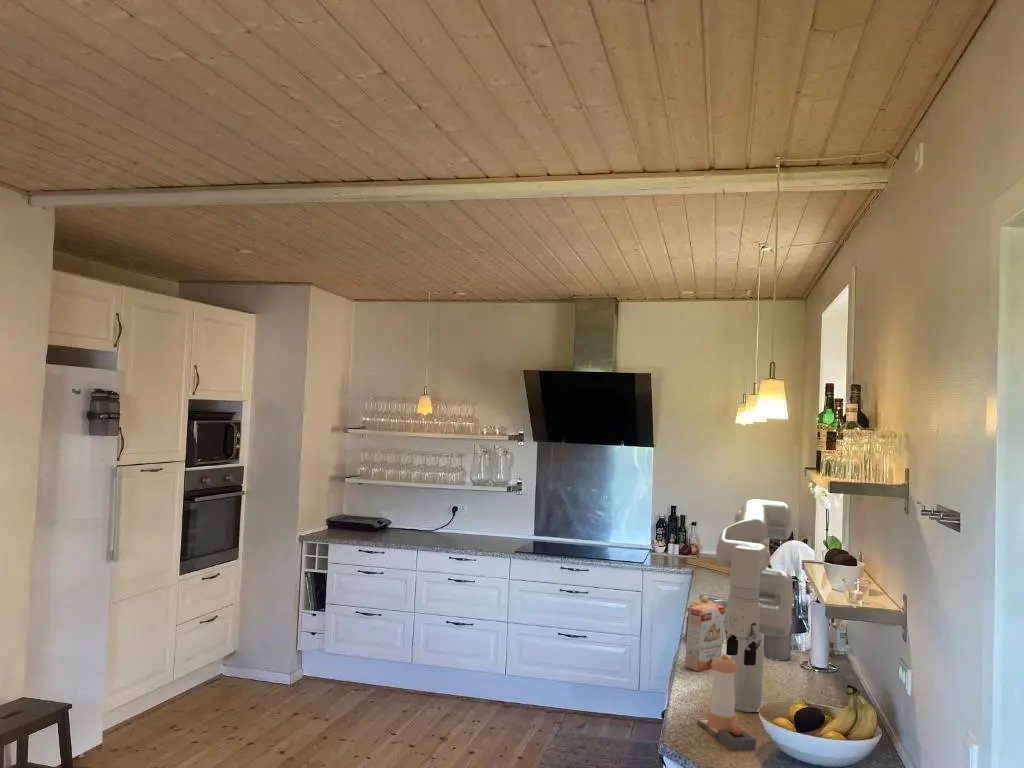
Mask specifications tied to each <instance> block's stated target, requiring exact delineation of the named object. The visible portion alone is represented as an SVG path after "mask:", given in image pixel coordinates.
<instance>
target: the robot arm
mask: <svg viewBox="0 0 1024 768" xmlns="http://www.w3.org/2000/svg"><path fill="white" fill-rule="evenodd" d="M735 513H736V514H735V515H734V523H733V524H730V525H729V526H727V527H725V528H724V529H723V530H722V531H721V533H720V535H719V538H718V540H717V541H718V542H717V544H716V545H717V546H716V550H715V558H716V561H717V563H718V564H719V565H721V566H722V567H726V568H730V580H729V594H728V595H727V596H728V597H727V599H726V605H725V613H724V621H723V623H724V627H723V630H724V632H725V634H726V635H725V640H726V648H725V649H726V652H725V655H727V656H730V658H731V659H733V660H734V661H735V662H736V663H737V666H738V668H737V671H736V672H734V696H735V709H734V710H735V711H739V712H744V713H751V712H754V713H755V712H757V711H758V709H759V708H760V707H761V706H763V705H765V704H766V705H767V703H766V702H765V701H764V700H763V699H762V697H763V694H762V693H763V678H764V661H765V660H764V659H765V658H764V657H765V656H764V643H762V641H763V637H762V635H764V634H766V635H772V636H780V637H784V636H787V635H788V634H789V631H790V628H791V621H792V611H793V610H792V609H793V608H792V607H793V588H794V587H793V586H794V585H793V579H792V576H791V574H790V573H789V572H788V571H785V570H782V569H776V568H771V567H769V566H770V562H771V552H770V550H769V548H768V547H767V546H766V545H765V544H762V543H763V542H765V540H766V539H771V540H781V541H785V540H788V539H790V537H791V535H792V533H793V532H792V531H793V514H792V510H791V508H790V506H789V505H788V504H787V503H785V502H783V501H777V500H766V499H754V498H753V499H748V500H747V501H745V502H744V503H743V504H742V506H741V510H738V511H737V512H735ZM760 599H761V600H760ZM764 600H766V601H764ZM767 600H768V601H767ZM769 601H771V602H769ZM772 601H773V602H772Z"/></svg>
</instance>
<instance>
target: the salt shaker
mask: <svg viewBox="0 0 1024 768" xmlns="http://www.w3.org/2000/svg"><path fill="white" fill-rule="evenodd" d="M728 656H729V655H727V654H722V655H721V657H716V658H714V659H713V661H712V663H711V664H712V667H713V668H712V669H713V681H712V687H711V692H710V696H709V709H708V711H707V719H708V725H709V726H710V727H712V728H715V729H718V730H720V729H732V724H736V713H735V710H736V709H735V696H734V672H736V671H737V668H738V666H737V663H736V662H735V661H734V660H733V659H731V657H728Z"/></svg>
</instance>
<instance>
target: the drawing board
mask: <svg viewBox="0 0 1024 768" xmlns="http://www.w3.org/2000/svg"><path fill="white" fill-rule="evenodd" d="M697 723H698V724H697ZM696 724H697V725H698V726H699V727H701V728H702V729H704V730H705V731H706V732H707V733H709V734H710V735H712V737H713V738H715V739H717V735H718V729H715V728H712V727H710V726H709V725H708V718H706V719H704V718H703V719H697V721H696Z"/></svg>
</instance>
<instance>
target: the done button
mask: <svg viewBox="0 0 1024 768" xmlns="http://www.w3.org/2000/svg"><path fill="white" fill-rule="evenodd" d="M742 730H743V725H742V724H739V723H735V724H732V734H734V735H742Z"/></svg>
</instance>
